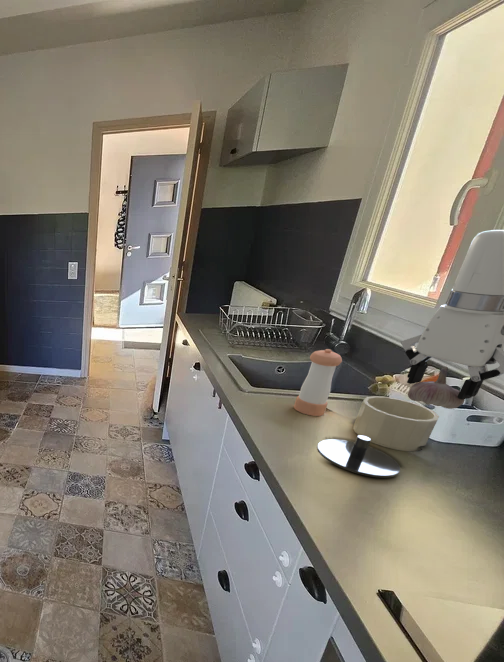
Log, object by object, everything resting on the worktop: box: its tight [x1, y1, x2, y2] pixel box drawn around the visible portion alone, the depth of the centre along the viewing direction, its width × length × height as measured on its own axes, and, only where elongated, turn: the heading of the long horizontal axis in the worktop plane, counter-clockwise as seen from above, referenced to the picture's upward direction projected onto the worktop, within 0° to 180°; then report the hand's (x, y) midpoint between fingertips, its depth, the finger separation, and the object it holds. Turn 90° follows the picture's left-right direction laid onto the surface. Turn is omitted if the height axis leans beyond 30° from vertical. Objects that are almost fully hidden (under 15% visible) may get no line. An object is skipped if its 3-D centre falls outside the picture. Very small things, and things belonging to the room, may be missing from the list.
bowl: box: [352, 395, 440, 452], centre depth 98 cm, size 14×14×8 cm
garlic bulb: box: [407, 366, 466, 410], centre depth 76 cm, size 8×7×8 cm
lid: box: [316, 434, 401, 479], centre depth 90 cm, size 15×15×6 cm
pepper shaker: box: [293, 348, 343, 417], centre depth 110 cm, size 7×7×19 cm
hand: (437, 389), depth 77 cm, fingers closed on garlic bulb, 7 cm apart
